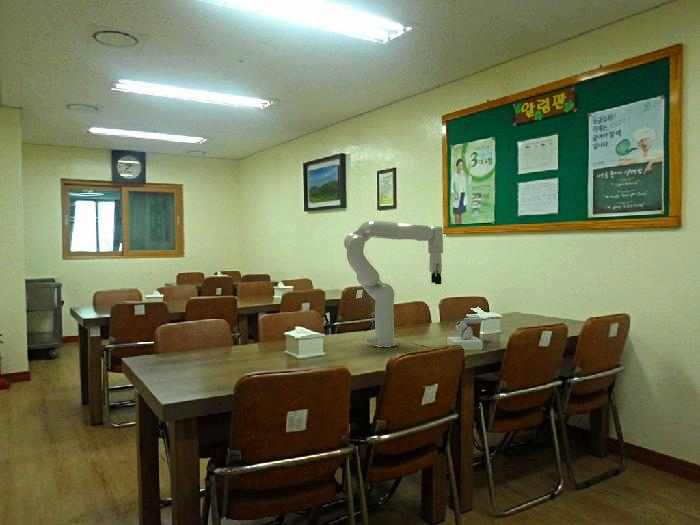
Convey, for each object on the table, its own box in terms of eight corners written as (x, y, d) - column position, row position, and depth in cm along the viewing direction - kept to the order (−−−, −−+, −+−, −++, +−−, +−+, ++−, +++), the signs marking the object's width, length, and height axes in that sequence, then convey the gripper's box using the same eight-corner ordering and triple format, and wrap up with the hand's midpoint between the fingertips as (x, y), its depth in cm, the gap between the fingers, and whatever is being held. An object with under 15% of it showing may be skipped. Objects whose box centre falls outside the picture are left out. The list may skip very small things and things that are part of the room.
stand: (453, 350, 253) (453, 341, 253) (447, 345, 267) (447, 336, 267) (483, 349, 253) (482, 341, 253) (475, 344, 267) (474, 335, 267)
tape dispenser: (465, 341, 263) (451, 326, 263) (475, 332, 262) (461, 317, 262) (466, 343, 257) (452, 328, 257) (476, 334, 256) (462, 319, 257)
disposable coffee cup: (484, 342, 270) (483, 319, 270) (465, 343, 271) (464, 319, 270) (480, 339, 280) (479, 316, 279) (461, 339, 280) (461, 317, 280)
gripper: (425, 250, 283) (426, 282, 284) (431, 250, 266) (432, 285, 267) (439, 250, 284) (440, 282, 284) (446, 250, 266) (447, 284, 267)
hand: (436, 283), depth 276 cm, fingers open, 9 cm apart
